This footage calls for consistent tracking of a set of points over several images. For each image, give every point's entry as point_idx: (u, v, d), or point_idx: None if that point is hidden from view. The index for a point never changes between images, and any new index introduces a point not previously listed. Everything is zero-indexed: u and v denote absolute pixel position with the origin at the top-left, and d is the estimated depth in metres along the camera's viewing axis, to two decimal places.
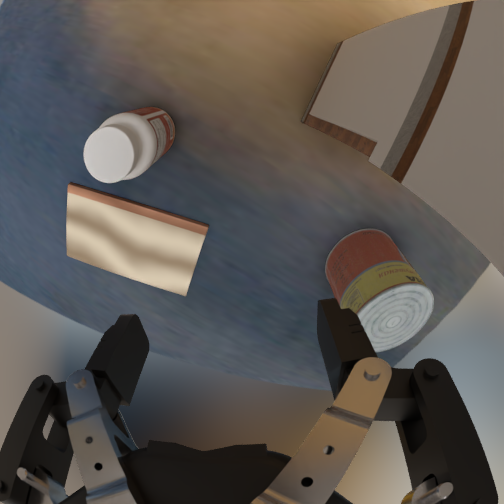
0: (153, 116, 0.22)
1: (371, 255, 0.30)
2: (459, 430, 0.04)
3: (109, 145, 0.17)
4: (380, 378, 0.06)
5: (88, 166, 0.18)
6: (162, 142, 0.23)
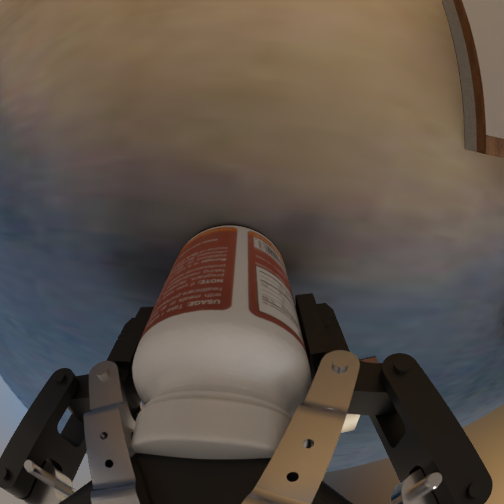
0: (247, 273, 0.10)
1: None
2: (439, 420, 0.05)
3: None
4: (347, 370, 0.07)
5: None
6: (298, 322, 0.10)
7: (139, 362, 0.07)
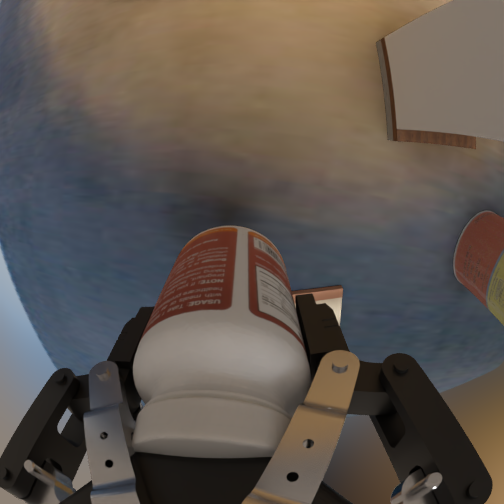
0: (247, 273, 0.10)
1: (495, 240, 0.21)
2: (438, 420, 0.05)
3: None
4: (347, 370, 0.07)
5: None
6: (298, 322, 0.10)
7: (140, 362, 0.07)
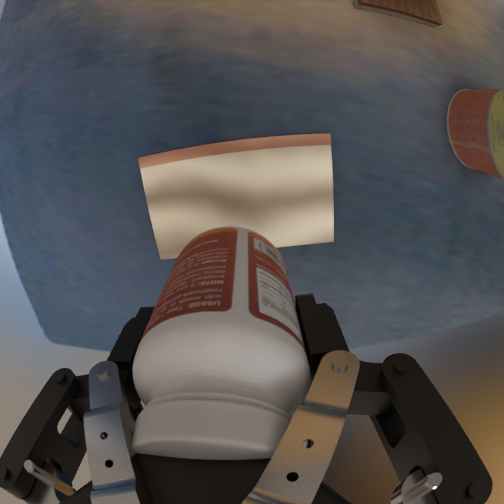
0: (247, 274, 0.10)
1: (482, 95, 0.17)
2: (438, 420, 0.05)
3: None
4: (347, 370, 0.07)
5: None
6: None
7: (139, 363, 0.07)
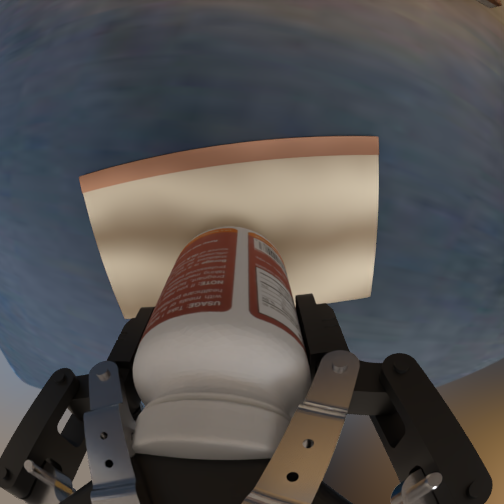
0: (247, 274, 0.10)
1: None
2: (439, 420, 0.05)
3: None
4: (347, 370, 0.07)
5: None
6: None
7: (139, 363, 0.07)
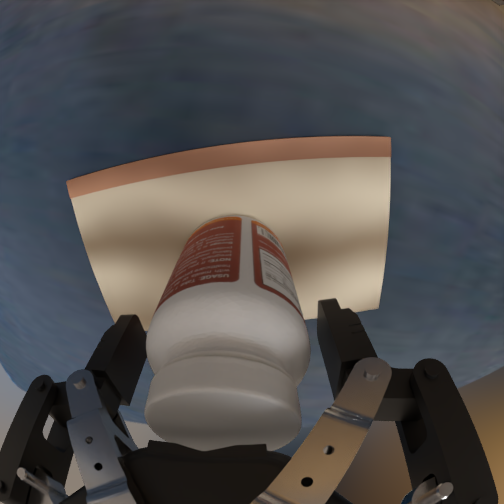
0: (251, 254, 0.11)
1: None
2: (459, 430, 0.04)
3: (215, 419, 0.06)
4: (380, 378, 0.06)
5: None
6: (298, 300, 0.11)
7: (154, 331, 0.08)
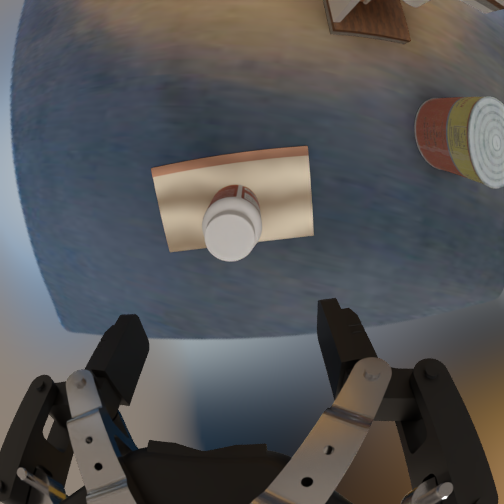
0: (241, 193, 0.29)
1: (444, 104, 0.24)
2: (459, 430, 0.04)
3: (228, 229, 0.25)
4: (380, 378, 0.06)
5: (215, 254, 0.26)
6: (259, 211, 0.29)
7: (207, 212, 0.27)
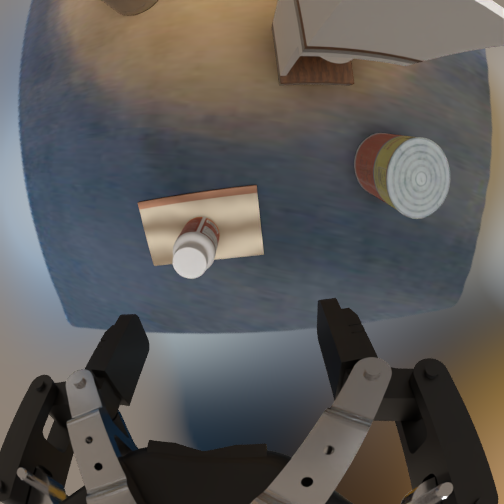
0: (201, 226, 0.40)
1: (377, 144, 0.34)
2: (459, 430, 0.04)
3: (187, 257, 0.35)
4: (380, 378, 0.06)
5: (180, 273, 0.36)
6: (215, 240, 0.40)
7: (176, 243, 0.37)
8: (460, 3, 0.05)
